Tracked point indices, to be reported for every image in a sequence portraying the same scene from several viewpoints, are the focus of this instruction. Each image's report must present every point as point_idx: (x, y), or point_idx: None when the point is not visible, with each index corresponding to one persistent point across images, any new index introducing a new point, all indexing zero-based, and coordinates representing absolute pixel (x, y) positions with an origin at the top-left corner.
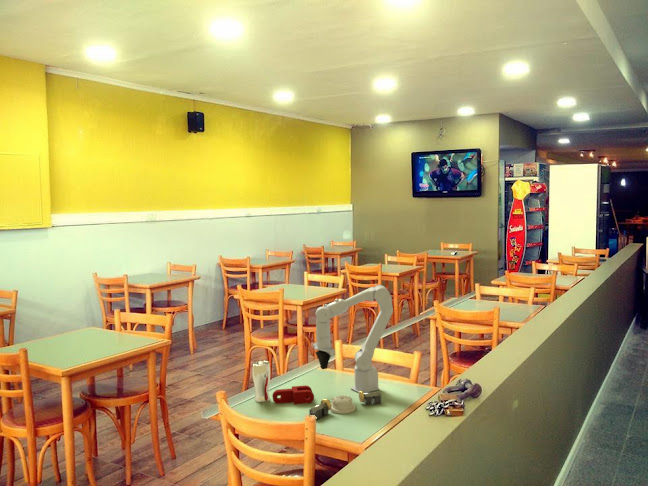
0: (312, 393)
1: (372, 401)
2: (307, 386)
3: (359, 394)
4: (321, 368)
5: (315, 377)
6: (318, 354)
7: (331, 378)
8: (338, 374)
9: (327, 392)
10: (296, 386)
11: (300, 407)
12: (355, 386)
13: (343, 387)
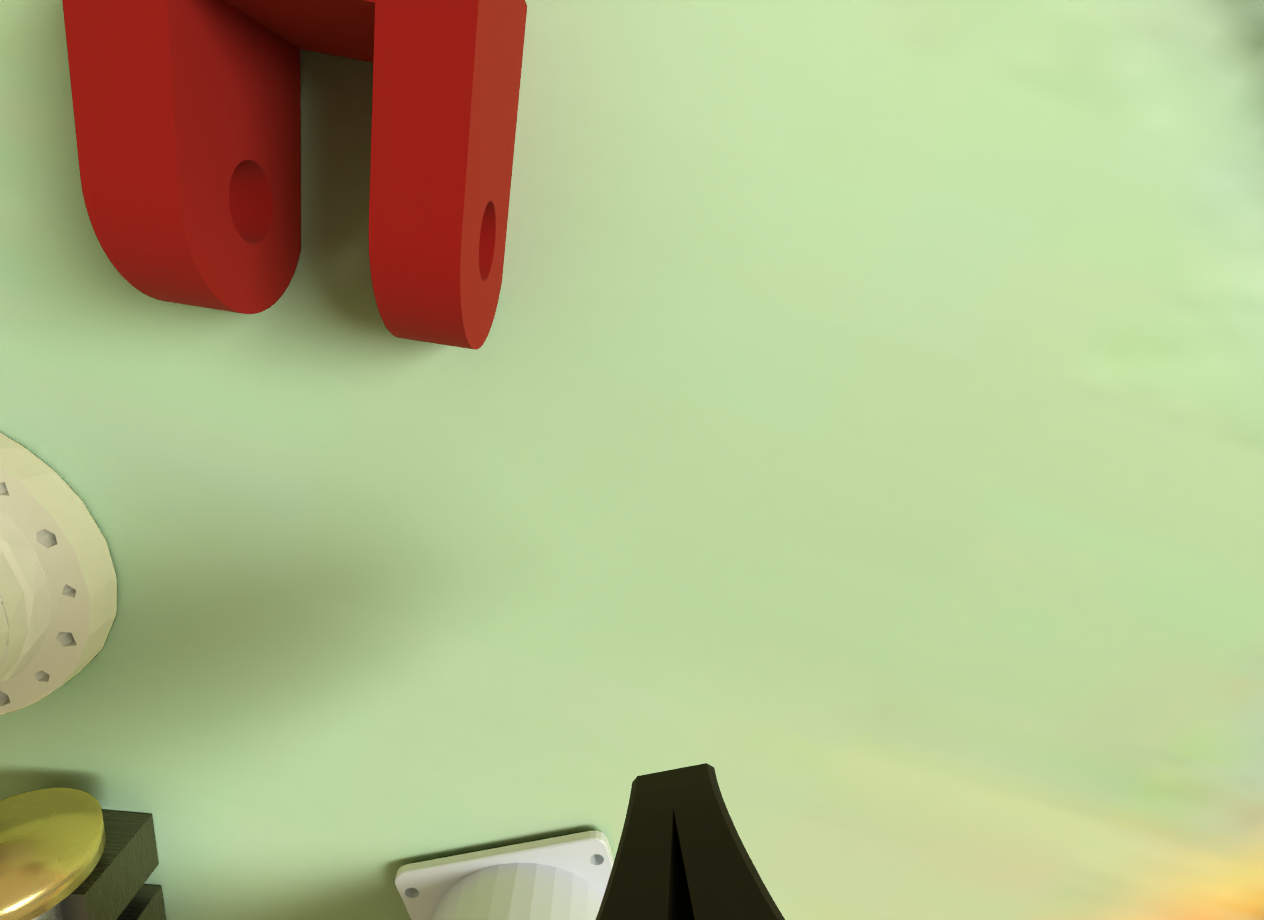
0: (129, 276)
1: (144, 886)
2: (406, 269)
3: (28, 864)
4: (695, 768)
5: (1207, 605)
6: None
7: (1047, 757)
8: (1129, 856)
9: (582, 574)
10: (451, 22)
11: None
12: (508, 896)
13: None
